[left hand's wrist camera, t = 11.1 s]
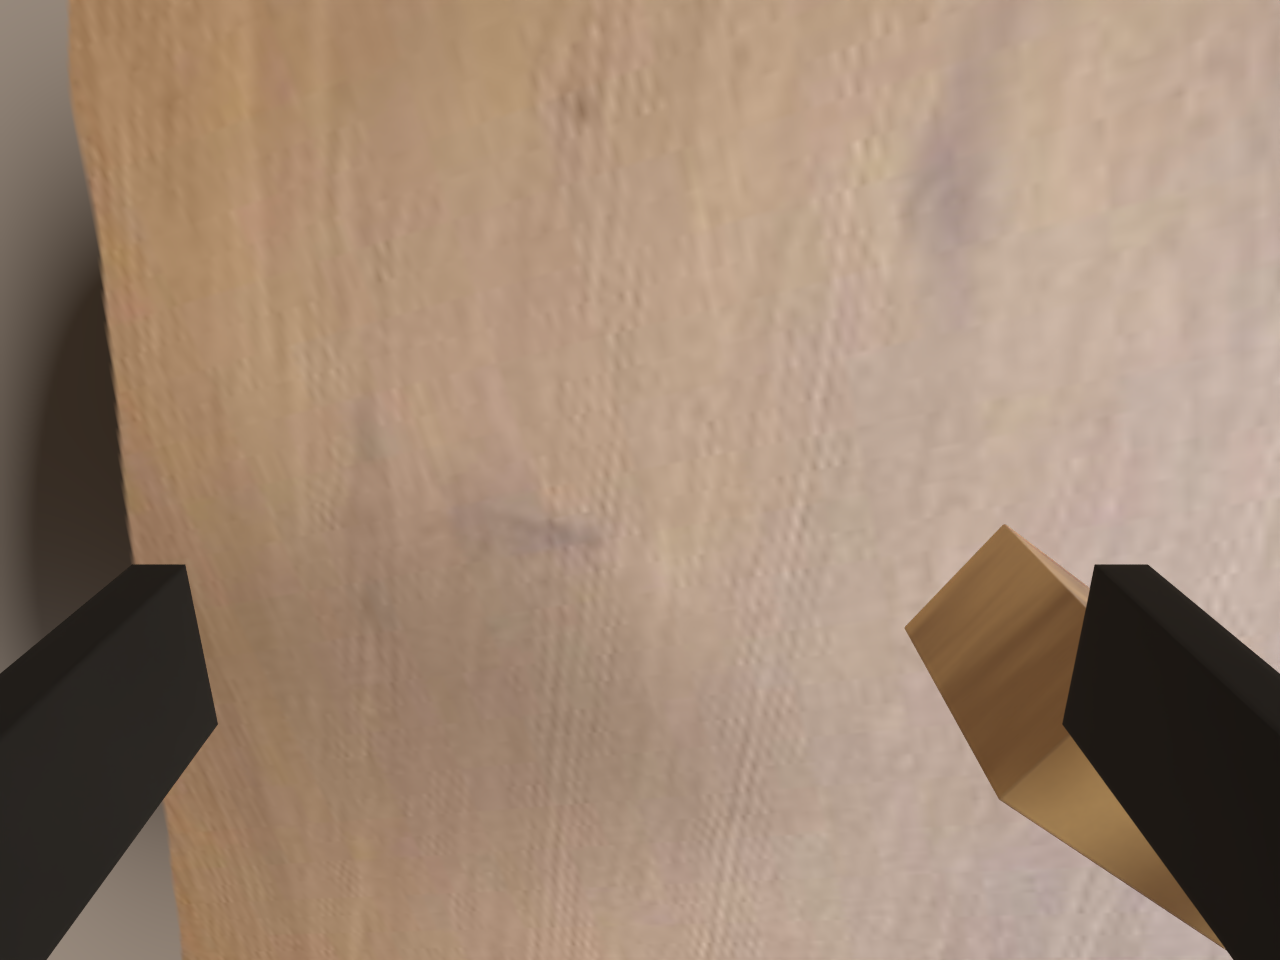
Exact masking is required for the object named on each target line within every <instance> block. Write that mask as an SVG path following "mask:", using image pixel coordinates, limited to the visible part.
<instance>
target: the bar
mask: <svg viewBox="0 0 1280 960" xmlns="http://www.w3.org/2000/svg"><path fill="white" fill-rule="evenodd" d="M1089 590H1090V588H1089V587H1088V586H1086V585H1085V584H1084V583H1082V582H1081V581H1080V580H1078V579H1077V578H1076V577H1074V576H1073V575H1072V574H1071V573H1069V572H1068V571H1067V570H1065V569H1064V568H1063V567H1061V566H1060V565H1059V564H1057V563H1056V562H1055V561H1053V560H1052V559H1051V558H1049V557H1048V556H1047V555H1045V554H1044V553H1043V552H1041V551H1040V550H1039V549H1037V548H1036V547H1035V546H1034V545H1032V544H1031V543H1030V542H1028V541H1027V540H1026V539H1024V538H1023V537H1022V536H1020V535H1019V534H1018V533H1016V532H1015V531H1014V530H1012V529H1011V528H1010V527H1008V526H1007V525H1005V524H1004V525H1002V526H1001V527H1000V528H999V530H998V531H997V532H996V533H995V534H994V535H993V536H992V537H991V538H990V539H989V540H988V541H987V542H986V543H985V544H984V545H983V546H982V547H981V548H980V549H979V550H978V551H977V552H976V553H975V555H974V556H973V557H972V558H971V559H970V560H969V561H968V562H967V563H966V564H965V565H964V566H963V567H962V568H961V569H960V570H959V571H958V572H957V573H956V574H955V575H954V576H953V577H952V579H951V580H950V581H949V582H948V583H947V584H946V585H945V586H944V587H943V588H942V589H941V590H940V591H939V592H938V593H937V594H936V595H935V596H934V597H933V598H932V599H931V600H930V601H929V602H928V604H927V605H926V606H925V607H924V608H923V609H922V610H921V611H920V612H919V613H918V614H917V615H916V616H915V617H914V618H913V619H912V620H911V621H910V622H909V623H908V624H907V625H906V626H905V630H906V632H907V634H908V635H909V637H910V639H911V641H912V643H913V644H914V646H915V648H916V650H917V652H918V653H919V655H920V657H921V659H922V661H923V662H924V664H925V666H926V668H927V670H928V672H929V673H930V675H931V677H932V679H933V681H934V682H935V684H936V686H937V688H938V690H939V691H940V693H941V695H942V697H943V699H944V700H945V702H946V704H947V706H948V708H949V710H950V711H951V713H952V715H953V717H954V719H955V720H956V722H957V724H958V726H959V728H960V729H961V731H962V733H963V735H964V737H965V739H966V740H967V742H968V744H969V746H970V748H971V749H972V751H973V753H974V755H975V757H976V758H977V760H978V762H979V764H980V766H981V767H982V769H983V771H984V773H985V775H986V777H987V778H988V780H989V782H990V784H991V786H992V787H993V789H994V791H995V793H996V795H997V796H998V798H999V800H1001V801H1002V802H1004V803H1005V804H1007V805H1008V806H1010V807H1011V808H1013V809H1014V810H1016V811H1017V812H1019V813H1020V814H1022V815H1023V816H1025V817H1026V818H1028V819H1029V820H1031V821H1032V822H1034V823H1035V824H1037V825H1038V826H1040V827H1041V828H1043V829H1044V830H1046V831H1047V832H1049V833H1050V834H1052V835H1053V836H1055V837H1056V838H1058V839H1059V840H1061V841H1062V842H1064V843H1066V844H1067V845H1069V846H1070V847H1072V848H1073V849H1075V850H1076V851H1078V852H1079V853H1081V854H1082V855H1084V856H1085V857H1087V858H1088V859H1090V860H1091V861H1093V862H1094V863H1096V864H1097V865H1099V866H1100V867H1102V868H1103V869H1105V870H1106V871H1108V872H1109V873H1111V874H1112V875H1114V876H1115V877H1117V878H1118V879H1120V880H1121V881H1123V882H1124V883H1126V884H1127V885H1129V886H1130V887H1132V888H1133V889H1135V890H1136V891H1138V892H1139V893H1141V894H1142V895H1144V896H1145V897H1147V898H1148V899H1150V900H1151V901H1153V902H1154V903H1156V904H1157V905H1159V906H1160V907H1162V908H1163V909H1165V910H1166V911H1168V912H1169V913H1171V914H1172V915H1174V916H1175V917H1177V918H1178V919H1180V920H1181V921H1183V922H1184V923H1186V924H1188V925H1189V926H1191V927H1192V928H1194V929H1195V930H1197V931H1198V932H1200V933H1201V934H1203V935H1204V936H1206V937H1207V938H1209V939H1210V940H1212V941H1213V942H1215V943H1216V944H1218V945H1219V946H1221V947H1222V948H1224V949H1225V947H1224V946H1223V945H1222V943H1221V942H1220V940H1219V939H1218V938H1217V936H1216V935H1215V934H1214V932H1213V931H1212V929H1211V928H1210V927H1209V925H1208V924H1207V923H1206V921H1205V920H1204V918H1203V917H1202V916H1201V914H1200V913H1199V912H1198V910H1197V909H1196V907H1195V906H1194V905H1193V903H1192V902H1191V901H1190V899H1189V898H1188V896H1187V895H1186V894H1185V892H1184V891H1183V890H1182V888H1181V887H1180V885H1179V884H1178V883H1177V881H1176V880H1175V879H1174V877H1173V876H1172V874H1171V873H1170V872H1169V870H1168V869H1167V868H1166V866H1165V865H1164V863H1163V862H1162V861H1161V859H1160V858H1159V857H1158V855H1157V854H1156V853H1155V851H1154V850H1153V848H1152V847H1151V846H1150V844H1149V843H1148V842H1147V840H1146V839H1145V837H1144V836H1143V835H1142V833H1141V832H1140V831H1139V829H1138V828H1137V826H1136V825H1135V824H1134V822H1133V821H1132V820H1131V818H1130V817H1129V815H1128V814H1127V813H1126V811H1125V810H1124V809H1123V807H1122V806H1121V804H1120V803H1119V802H1118V800H1117V799H1116V798H1115V796H1114V795H1113V793H1112V792H1111V791H1110V789H1109V788H1108V787H1107V785H1106V784H1105V782H1104V781H1103V780H1102V778H1101V777H1100V776H1099V774H1098V773H1097V771H1096V770H1095V769H1094V767H1093V766H1092V765H1091V763H1090V762H1089V760H1088V759H1087V758H1086V756H1085V755H1084V754H1083V752H1082V751H1081V749H1080V748H1079V747H1078V745H1077V744H1076V743H1075V741H1074V740H1073V738H1072V737H1071V736H1070V734H1069V733H1068V732H1067V730H1066V729H1065V727H1064V726H1063V725H1062V722H1063V718H1064V713H1065V708H1066V703H1067V698H1068V693H1069V688H1070V683H1071V678H1072V674H1073V669H1074V664H1075V659H1076V654H1077V649H1078V644H1079V639H1080V634H1081V630H1082V625H1083V620H1084V615H1085V610H1086V605H1087V600H1088V595H1089ZM1225 950H1226V949H1225Z"/></svg>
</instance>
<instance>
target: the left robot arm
mask: <svg viewBox="0 0 1280 960" xmlns="http://www.w3.org/2000/svg"><path fill="white" fill-rule="evenodd" d="M217 725H218V722H217V718H216V713H215V708H214V703H213V698H212V693H211V688H210V683H209V678H208V674H207V669H206V664H205V659H204V654H203V649H202V644H201V639H200V634H199V630H198V625H197V620H196V615H195V610H194V605H193V600H192V595H191V590H190V586H189V581H188V576H187V571H186V566H185V565H131V566H130V567H129V568H127V569H126V570H125V571H124V572H123V573H121V574H120V575H119V576H118V577H117V578H115V579H114V580H113V581H112V582H111V583H109V584H108V585H107V586H106V587H104V588H103V589H102V590H101V591H100V592H98V593H97V594H96V595H95V596H94V597H92V598H91V599H90V600H89V601H88V602H86V603H85V604H84V605H83V606H82V607H80V608H79V609H78V610H77V611H75V612H74V613H73V614H72V615H71V616H69V617H68V618H67V619H66V620H65V621H63V622H62V623H61V624H60V625H59V626H57V627H56V628H55V629H54V630H53V631H51V632H50V633H49V634H48V635H46V636H45V637H44V638H43V639H42V640H40V641H39V642H38V643H37V644H36V645H34V646H33V647H32V648H31V649H30V650H28V651H27V652H26V653H25V654H24V655H22V656H21V657H20V658H19V659H17V660H16V661H15V662H14V663H13V664H11V665H10V666H9V667H8V668H7V669H5V670H4V671H3V672H2V673H1V674H0V960H47V958H48V957H49V955H50V954H51V953H52V951H53V950H54V949H55V947H56V946H57V944H58V943H59V942H60V940H61V939H62V938H63V936H64V935H65V934H66V932H67V931H68V929H69V928H70V927H71V925H72V924H73V923H74V921H75V920H76V918H77V917H78V916H79V914H80V913H81V912H82V910H83V909H84V907H85V906H86V905H87V903H88V902H89V900H90V899H91V898H92V896H93V895H94V894H95V892H96V891H97V890H98V888H99V887H100V885H101V884H102V883H103V881H104V880H105V879H106V877H107V876H108V874H109V873H110V872H111V870H112V869H113V868H114V866H115V865H116V863H117V862H118V861H119V859H120V858H121V857H122V855H123V854H124V852H125V851H126V850H127V848H128V847H129V846H130V844H131V843H132V841H133V840H134V839H135V837H136V836H137V835H138V833H139V832H140V831H141V829H142V828H143V826H144V825H145V824H146V822H147V821H148V819H149V818H150V817H151V815H152V814H153V813H154V811H155V810H156V809H157V807H158V806H159V804H160V803H161V802H162V800H163V799H164V798H165V796H166V795H167V793H168V792H169V791H170V789H171V788H172V787H173V785H174V784H175V782H176V781H177V780H178V778H179V777H180V776H181V774H182V773H183V771H184V770H185V769H186V767H187V766H188V765H189V763H190V762H191V760H192V759H193V758H194V756H195V755H196V754H197V752H198V751H199V749H200V748H201V747H202V745H203V744H204V743H205V741H206V740H207V738H208V737H209V736H210V734H211V733H212V732H213V730H214V729H215V727H216V726H217ZM1062 725H1063V726H1064V727H1065V729H1066V730H1067V732H1068V733H1069V734H1070V736H1071V737H1072V738H1073V740H1074V741H1075V743H1076V744H1077V745H1078V747H1079V748H1080V749H1081V751H1082V752H1083V754H1084V755H1085V756H1086V758H1087V759H1088V760H1089V762H1090V763H1091V765H1092V766H1093V767H1094V769H1095V770H1096V771H1097V773H1098V774H1099V776H1100V777H1101V778H1102V780H1103V781H1104V782H1105V784H1106V785H1107V787H1108V788H1109V789H1110V791H1111V792H1112V793H1113V795H1114V796H1115V798H1116V799H1117V800H1118V802H1119V803H1120V804H1121V806H1122V807H1123V809H1124V810H1125V811H1126V813H1127V814H1128V815H1129V817H1130V818H1131V820H1132V821H1133V822H1134V824H1135V825H1136V826H1137V828H1138V829H1139V831H1140V832H1141V833H1142V835H1143V836H1144V837H1145V839H1146V840H1147V842H1148V843H1149V844H1150V846H1151V847H1152V848H1153V850H1154V851H1155V853H1156V854H1157V855H1158V857H1159V858H1160V859H1161V861H1162V862H1163V863H1164V865H1165V866H1166V868H1167V869H1168V870H1169V872H1170V873H1171V874H1172V876H1173V877H1174V879H1175V880H1176V881H1177V883H1178V884H1179V885H1180V887H1181V888H1182V890H1183V891H1184V892H1185V894H1186V895H1187V896H1188V898H1189V899H1190V901H1191V902H1192V903H1193V905H1194V906H1195V907H1196V909H1197V910H1198V912H1199V913H1200V914H1201V916H1202V917H1203V918H1204V920H1205V921H1206V923H1207V924H1208V925H1209V927H1210V928H1211V929H1212V931H1213V932H1214V934H1215V935H1216V936H1217V938H1218V939H1219V940H1220V942H1221V943H1222V945H1223V946H1224V947H1225V949H1226V950H1227V951H1228V953H1229V954H1230V956H1231V957H1232V958H1233V960H1280V674H1279V673H1278V672H1277V671H1276V670H1275V669H1273V668H1272V667H1271V666H1270V665H1269V664H1267V663H1266V662H1265V661H1264V660H1263V659H1261V658H1260V657H1259V656H1258V655H1256V654H1255V653H1254V652H1253V651H1252V650H1250V649H1249V648H1248V647H1247V646H1246V645H1244V644H1243V643H1242V642H1241V641H1240V640H1238V639H1237V638H1236V637H1235V636H1234V635H1232V634H1231V633H1230V632H1229V631H1227V630H1226V629H1225V628H1224V627H1223V626H1221V625H1220V624H1219V623H1218V622H1217V621H1215V620H1214V619H1213V618H1212V617H1211V616H1209V615H1208V614H1207V613H1206V612H1205V611H1203V610H1202V609H1201V608H1200V607H1198V606H1197V605H1196V604H1195V603H1194V602H1192V601H1191V600H1190V599H1189V598H1188V597H1186V596H1185V595H1184V594H1183V593H1182V592H1180V591H1179V590H1178V589H1177V588H1176V587H1174V586H1173V585H1172V584H1171V583H1169V582H1168V581H1167V580H1166V579H1165V578H1163V577H1162V576H1161V575H1160V574H1159V573H1157V572H1156V571H1155V570H1154V569H1153V568H1151V567H1150V566H1149V565H1095V566H1094V571H1093V576H1092V581H1091V586H1090V590H1089V595H1088V600H1087V605H1086V610H1085V615H1084V620H1083V625H1082V630H1081V634H1080V639H1079V644H1078V649H1077V654H1076V659H1075V664H1074V669H1073V674H1072V678H1071V683H1070V688H1069V693H1068V698H1067V703H1066V708H1065V713H1064V718H1063V722H1062Z"/></svg>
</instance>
